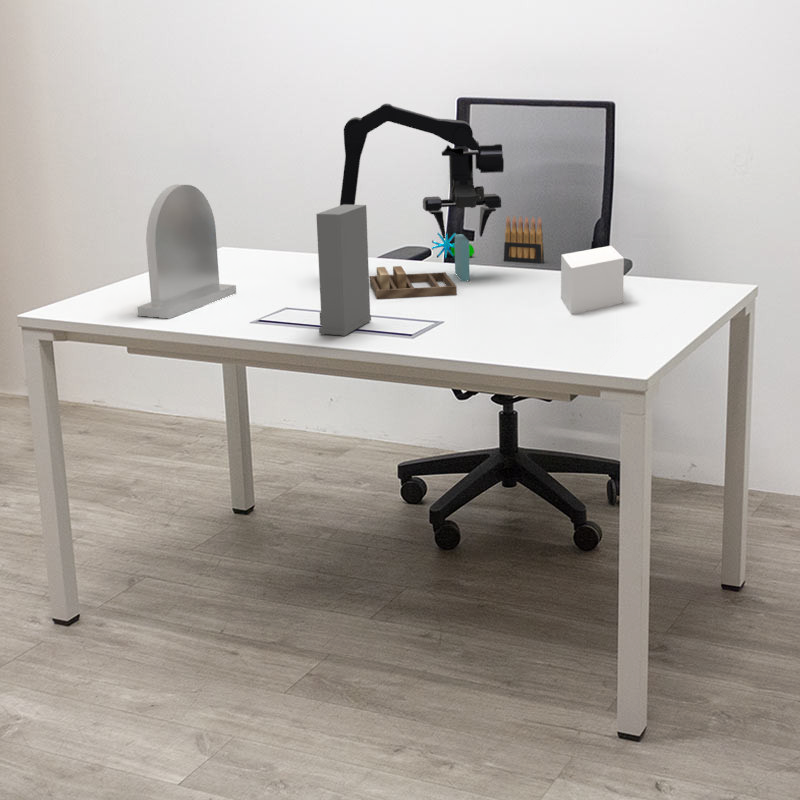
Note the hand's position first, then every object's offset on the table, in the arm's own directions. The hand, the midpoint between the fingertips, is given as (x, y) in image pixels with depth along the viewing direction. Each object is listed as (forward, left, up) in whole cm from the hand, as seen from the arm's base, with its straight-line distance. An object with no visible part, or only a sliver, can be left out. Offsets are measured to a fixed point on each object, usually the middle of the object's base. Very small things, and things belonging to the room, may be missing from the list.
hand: (462, 237), depth 308 cm
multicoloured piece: (+2, +29, -10) cm, 31 cm away
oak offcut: (-17, -12, -10) cm, 23 cm away
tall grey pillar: (-33, -48, -10) cm, 59 cm away
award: (-67, -16, -10) cm, 70 cm away
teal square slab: (0, 0, -10) cm, 10 cm away
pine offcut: (-21, -12, -10) cm, 26 cm away
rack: (-14, -12, -10) cm, 21 cm away
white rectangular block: (+24, -34, -10) cm, 43 cm away
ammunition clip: (+19, +16, -10) cm, 27 cm away
